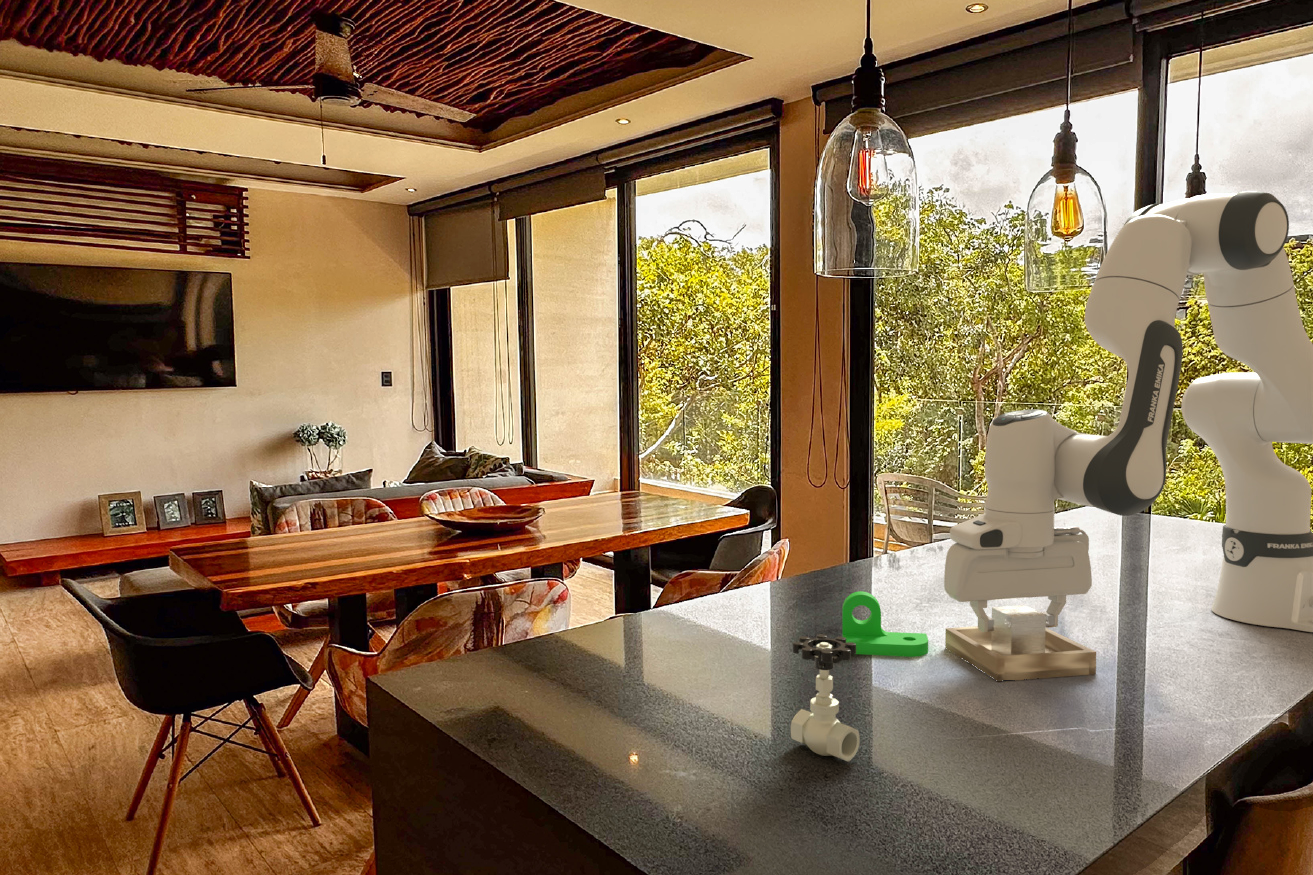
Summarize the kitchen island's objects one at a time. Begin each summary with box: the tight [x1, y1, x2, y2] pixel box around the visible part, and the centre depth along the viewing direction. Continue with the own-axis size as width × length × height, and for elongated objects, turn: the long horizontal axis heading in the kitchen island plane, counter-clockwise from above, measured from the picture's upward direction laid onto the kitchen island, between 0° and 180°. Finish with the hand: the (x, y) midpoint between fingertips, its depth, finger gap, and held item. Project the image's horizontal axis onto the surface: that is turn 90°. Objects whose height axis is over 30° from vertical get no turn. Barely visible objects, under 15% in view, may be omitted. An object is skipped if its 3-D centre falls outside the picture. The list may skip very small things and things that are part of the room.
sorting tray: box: [944, 625, 1097, 682], centre depth 123 cm, size 14×14×3 cm
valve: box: [790, 633, 860, 762], centre depth 94 cm, size 7×7×12 cm
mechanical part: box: [841, 590, 929, 658], centre depth 128 cm, size 12×6×8 cm, turn 79°
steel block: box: [991, 604, 1047, 656], centre depth 123 cm, size 5×5×6 cm
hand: (1017, 628), depth 123 cm, fingers open, 8 cm apart
